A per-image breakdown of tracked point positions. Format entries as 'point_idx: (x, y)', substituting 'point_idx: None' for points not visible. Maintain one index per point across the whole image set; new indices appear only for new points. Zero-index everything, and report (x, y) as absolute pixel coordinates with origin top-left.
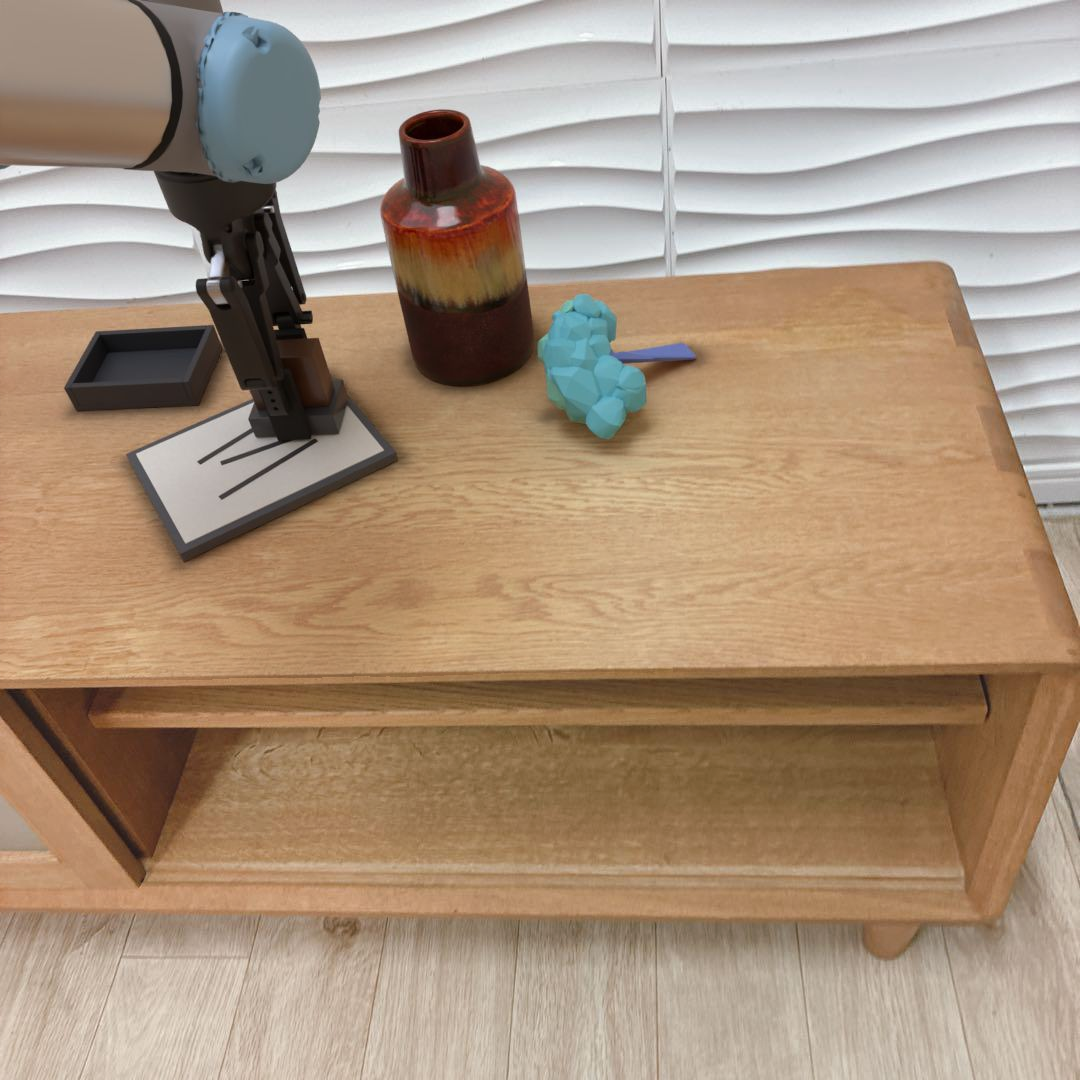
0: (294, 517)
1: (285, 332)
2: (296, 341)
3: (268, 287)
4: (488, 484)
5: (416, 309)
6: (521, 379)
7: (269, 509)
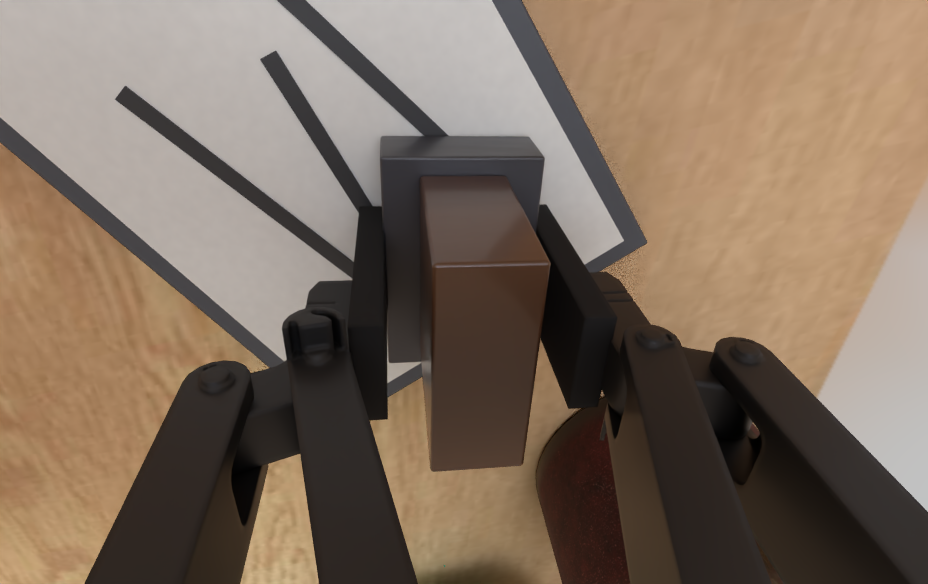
0: (143, 265)
1: (588, 362)
2: (513, 419)
3: (643, 539)
4: (288, 526)
5: (621, 573)
6: (539, 525)
7: (116, 232)
